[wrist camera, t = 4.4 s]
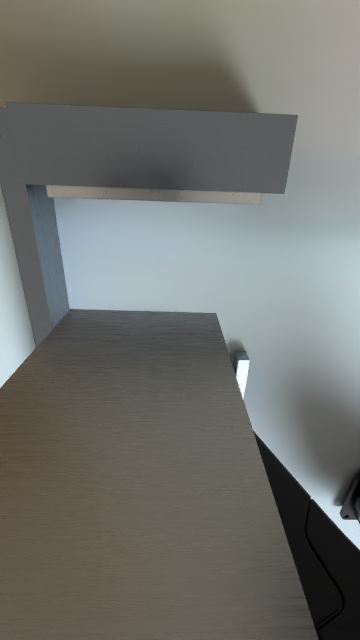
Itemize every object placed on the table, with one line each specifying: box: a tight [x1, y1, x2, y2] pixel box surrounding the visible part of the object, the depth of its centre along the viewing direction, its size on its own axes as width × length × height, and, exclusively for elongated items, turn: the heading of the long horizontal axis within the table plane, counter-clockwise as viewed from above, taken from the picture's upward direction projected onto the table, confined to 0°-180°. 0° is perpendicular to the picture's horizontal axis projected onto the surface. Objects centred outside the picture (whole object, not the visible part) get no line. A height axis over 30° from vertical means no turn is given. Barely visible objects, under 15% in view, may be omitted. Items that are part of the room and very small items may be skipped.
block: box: [0, 309, 319, 640], centre depth 7 cm, size 5×4×7 cm
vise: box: [0, 102, 298, 398], centre depth 18 cm, size 23×14×4 cm, turn 178°
